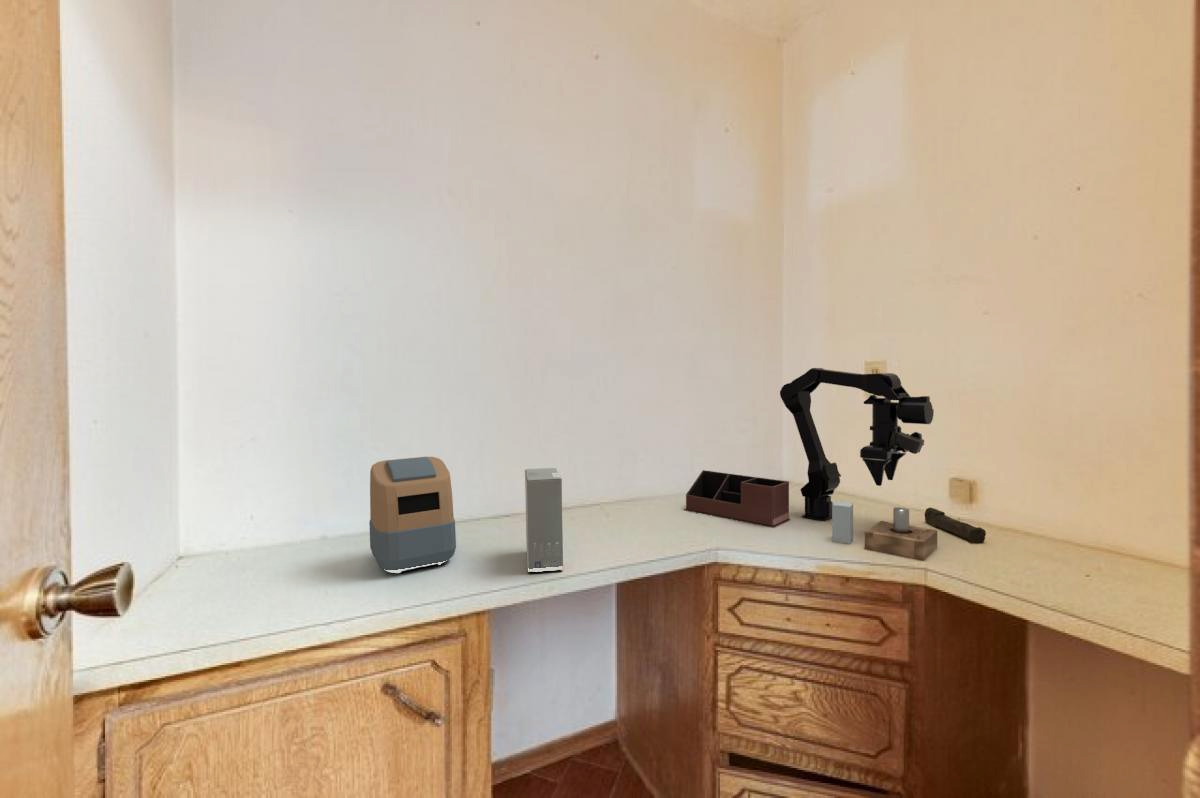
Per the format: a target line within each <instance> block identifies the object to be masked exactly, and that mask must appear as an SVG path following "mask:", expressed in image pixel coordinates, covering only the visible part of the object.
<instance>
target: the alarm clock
mask: <svg viewBox="0 0 1200 798" xmlns="http://www.w3.org/2000/svg"><path fill="white" fill-rule="evenodd" d="M369 473H370V474H369V481H370V482H369V497H370V499H369V503H370V504H369V508H370V509H369V510H370V511H369V512H370V516H369V517H370V519H369V548H370V551H371V554H372V557H374V559H375V561H376V562H377V564H378V566H379V567H380V568H381V569H382V568H383V569H385V570H398V569H405V568H411V567H416V566H422V565H427V564H432V563H438V562H443V561H446V560H449V559H450V558H451V559H452V558H453V556H454V555H455V552H456V548H457V536H456V534H457V533H456V520H455V519H456V518H455V517H454V501H453V490H452V489H453V488H452V479H451V473H450V470H449V469H448V467H447V466H446V463H445V462H444V461H443V460H442V459H440V458H439V457H435V456H419V457H407V458H396V459H386V460H381V461H377V462H376V463H374V464H372V465H371V468H370V472H369ZM451 559H450V560H451ZM450 560H449V561H450ZM383 569H382V570H383Z"/></svg>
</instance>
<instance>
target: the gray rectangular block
mask: <svg viewBox="0 0 1200 798" xmlns="http://www.w3.org/2000/svg"><path fill="white" fill-rule="evenodd" d="M831 522H832V523H831V524H832V526H831V530H832V533H831V534H832V536H831V537H832V538H831V542H834V543H840V544H841V543H842V544H848V545H851V544H852V542H853V541H854V503H853V502H852V503H851V502H845V501H844V502H843V501H834V503H833V505H832V517H831Z"/></svg>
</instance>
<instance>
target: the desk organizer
mask: <svg viewBox="0 0 1200 798" xmlns="http://www.w3.org/2000/svg"><path fill="white" fill-rule="evenodd" d="M789 488H790V481H789V480H788V481H787V480H781V479H780V480H779V479H772V478H765V477H759V476H758V477H757V476H749V475H743V474H735V473H734V474H733V473H727V472H721V471H712V470H705V469H702V471H701V472H700V474H699V475H698V476H697V478H696V479H695V481H694V482H693V484H692V485H691V487H689V490H687V492H686V494H685V508H684V509H683V511H685V510H686V511H685V512H690V511H691V512H692V513H695V512H696V514H700V513H701V514H700V515H705V514H707V515H706V516H711V515H712V517H717V518H722V519H726V518H727V519H726V520H731V519H732V521H736V520H737V521H736V522H741V521H742V523H747V524H750V525H751V524H753V525H756V526H761V527H766V528H772V529H776V528H778V527H780V526H781V525H782V526H783V524H787V523H788V522H790V521H792V519H790V489H789Z"/></svg>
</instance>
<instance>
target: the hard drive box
mask: <svg viewBox="0 0 1200 798" xmlns="http://www.w3.org/2000/svg"><path fill="white" fill-rule="evenodd" d="M562 480H563V478H562V477H561V475H560V472H559V471H558V470H557V468H556V467H546V468H545V467H544V468H543V467H541V468H540V467H539V468H525V470H524V487H525V489H524V490H525V492H524V495H525V531H526V532H525V534H526V535H525V536H526V537H525V538H526V542H525V543H526V557H527V558H526V563H527V569H528V568H529V569H533V568H546V567H559V566H563V567H564V546H563V545H564V544H563V543H564V537H563V536H564V535H563V494H562V493H563V491H562V490H563V487H562V486H563V483H562V482H563V481H562Z"/></svg>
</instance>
